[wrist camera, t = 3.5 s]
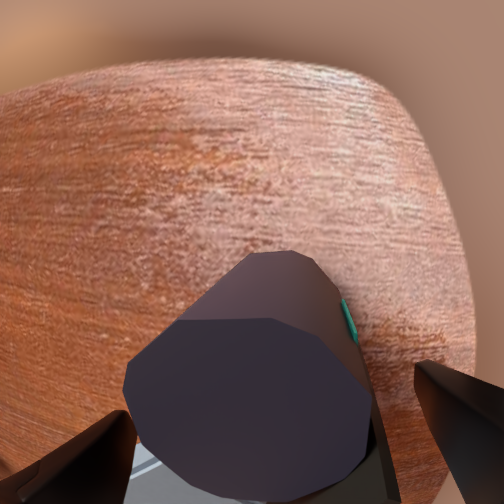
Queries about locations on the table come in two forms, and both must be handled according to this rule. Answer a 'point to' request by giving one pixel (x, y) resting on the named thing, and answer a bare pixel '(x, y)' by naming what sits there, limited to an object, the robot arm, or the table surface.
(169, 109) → the table surface
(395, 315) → the table surface
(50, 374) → the table surface
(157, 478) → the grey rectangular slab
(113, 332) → the table surface
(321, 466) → the speaker
